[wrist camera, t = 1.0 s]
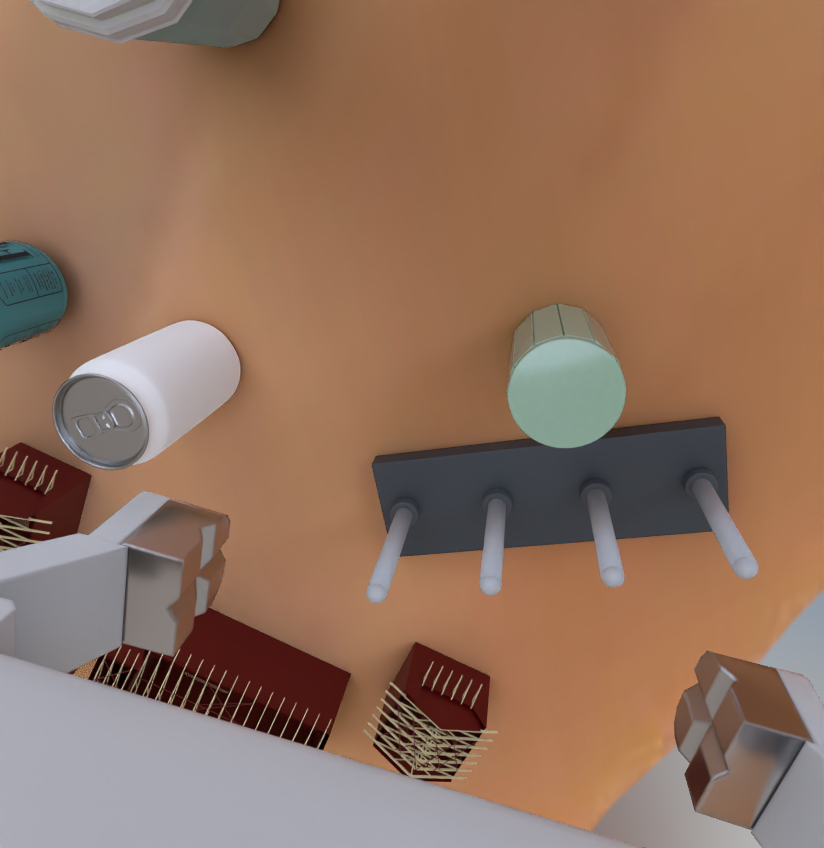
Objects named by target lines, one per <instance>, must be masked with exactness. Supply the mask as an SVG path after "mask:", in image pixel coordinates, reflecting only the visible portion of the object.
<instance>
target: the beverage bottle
mask: <svg viewBox="0 0 824 848" xmlns="http://www.w3.org/2000/svg"><path fill="white" fill-rule="evenodd" d="M14 241H16V240H14ZM19 242H20V241H19ZM67 301H68V294H67V287H66V283H65V280H64V278H63V276H62V273H61V272H60V270H59V268H58V267H57V265H56V264H55V263H54V262H53V260H52V259H51V258H50V257H49V256H48V255H46V254H45V253H44V252H43V251H41V250H39V249H38V248H36V247H34V246H31V245H28V244H26V243H25V244H23V242H22V243H18V242H13V241H12V242H11V241H10V242H2V243H0V348H2V347H3V348H4V346H5V347H6V348H7V346H10V344H13V343H16V342H18V341H22V342H24V341H27V339H26V338H29V337H30V338H29V339H30V340H31V337H32V336H35V335H38V334H41V333H44V332H45V331H46V334H47V331H49V329H51V328H52V327H54V326H55V325H56V324H58V322H59V321H60V319H61V318H62V317H63V315H64V313H65V310H66V307H67ZM54 328H55V327H54ZM54 328H53V329H54ZM49 332H50V331H49ZM39 336H40V335H39ZM35 337H36V336H35ZM37 337H38V336H37ZM33 338H34V337H33ZM24 339H26V340H24ZM18 343H19V342H18ZM20 343H21V342H20ZM20 343H19V344H20ZM13 345H14V344H13ZM1 350H2V349H0V351H1Z"/></svg>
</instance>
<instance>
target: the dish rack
mask: <svg viewBox="0 0 824 848" xmlns="http://www.w3.org/2000/svg"><path fill="white" fill-rule="evenodd" d="M372 468H373V473H374V477H375V482H376V486H377V490H378V495H379V499H380V503H381V508H382V512H383V517H384V521H385V525H386V530H387V534H388V535H387V537H386V540H385V542H384V545H383V548H382V550H381V553H380V556H379V558H378V561H377V564H376V566H375V569H374V571H373V574H372V577H371V579H370V582H369V585H368V587H367V591H366V594H367V597H368V599H369V600H370V601H371V602H373V603H380V602H382V601H384V600H385V598H386V596H387V594H388V590H389V587H390V584H391V581H392V578H393V575H394V572H395V569H396V566H397V563H398V560H399V557H401V556H413V555H426V554H438V553H450V552H463V551H475V550H483V555H482V564H481V573H480V582H479V586H480V589H481V591H482V592H483V593H484V594H486V595H489V596H493V595H495V594H497V593H498V592H499V591H500V589H501V581H502V565H503V549H504V548H512V547H525V546H537V545H549V544H562V543H574V542H587V541H595V547H596V552H597V558H598V563H599V569H600V574H601V579H602V581H603V583H604V584H605V585H607V586H608V587H612V588H615V587H618V586H620V585H621V584H622V583H623V581H624V577H625V576H624V571H623V567H622V562H621V558H620V554H619V550H618V546H617V542H616V539H624V538H636V537H648V536H661V535H673V534H686V533H698V532H710V531H713V532H714V534H715V536H716V538H717V540H718V542H719V544H720V546H721V548H722V550H723V552H724V554H725V556H726V558H727V560H728V562H729V564H730V565H731V567H732V569H733V571H734V573H735V574H736V575H737V576H738V577H740V578H743V579H750V578H752V577H754V576H755V575H756V574H757V572H758V564H757V561H756V560H755V558H754V556H753V555H752V553H751V551H750V549H749V548H748V546H747V544H746V543H745V541H744V539H743V537H742V536H741V534H740V532H739V531H738V529H737V527H736V525H735V524H734V522H733V520H732V519H731V517H730V515H729V508H728V481H727V454H726V426H725V424H724V423H723V421H722V420H721V419H720V417H713V418H705V419H696V420H687V421H678V422H670V423H661V424H652V425H644V426H635V427H626V428H618V429H610V430H609V431H608V432H607V433H606V434H605V435H603V436H602V437H601V438H599V439H597V440H596V441H594V442H592V443H589V444H587V445H584V446H580V447H575V448H556V447H551V446H547V445H544V444H541V443H539V442H537V441H535V440H534V439H532V438H531V439H522V440H513V441H505V442H496V443H487V444H479V445H470V446H461V447H452V448H444V449H435V450H426V451H418V452H409V453H400V454H392V455H383V456H376V457H375V459H374V461H373V463H372Z"/></svg>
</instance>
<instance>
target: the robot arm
mask: <svg viewBox="0 0 824 848" xmlns="http://www.w3.org/2000/svg"><path fill="white" fill-rule="evenodd" d="M229 528H230V520H229V517H228V515H225V514H222V513H219V512H215V511H212V510H209V509H205V508H202V507H199V506H195V505H192V504H189V503H186V502H182V501H179V500H176V499H172V498H169V497H166V496H162V495H158V494H155V493H151V492H140V493H139V494H138V495H136V496H135V497H134V498H133V499H131V500H130V501H129V502H128V503H127V504H125V505H124V506H123V507H122V508H121V509H119V510H118V511H117V512H116V513H114V514H113V515H112V516H111V517H110V518H108V519H107V520H106V521H105V522H103V523H102V524H101V525H100V526H99V527H97V528H96V529H95V530H94V531H92V532H91V533H90V534H89V535H85V534H81V533H77V534H73V535H68V536H64V537H60V538H56V539H51V540H47V541H43V542H39V543H34V544H30V545H26V546H22V547H17V548H13V549H9V550H4V551H0V848H645V847H641V846H638V845H635V844H631V843H628V842H624V841H621V840H618V839H615V838H611V837H608V836H604V835H601V834H598V833H595V832H592V831H588V830H585V829H582V828H578V827H575V826H572V825H568V824H565V823H562V822H558V821H555V820H552V819H548V818H545V817H542V816H538V815H535V814H532V813H528V812H525V811H522V810H519V809H515V808H512V807H509V806H505V805H502V804H499V803H495V802H492V801H489V800H485V799H482V798H479V797H476V796H472V795H469V794H466V793H462V792H459V791H456V790H452V789H449V788H446V787H442V786H439V785H436V784H432V783H429V782H426V781H423V780H419V779H416V778H413V777H409V776H406V775H403V774H399V773H396V772H393V771H389V770H386V769H383V768H379V767H376V766H373V765H370V764H366V763H363V762H360V761H356V760H353V759H350V758H346V757H343V756H340V755H336V754H333V753H330V752H327V751H323V750H320V749H317V748H313V747H310V746H307V745H303V744H300V743H297V742H293V741H290V740H287V739H283V738H280V737H277V736H274V735H270V734H267V733H264V732H260V731H257V730H254V729H250V728H247V727H244V726H240V725H237V724H234V723H231V722H227V721H224V720H221V719H217V718H214V717H211V716H207V715H204V714H201V713H197V712H194V711H191V710H187V709H184V708H181V707H178V706H174V705H171V704H168V703H164V702H161V701H158V700H154V699H151V698H148V697H144V696H141V695H138V694H134V693H131V692H128V691H125V690H121V689H118V688H115V687H111V686H108V685H105V684H101V683H98V682H95V681H91V680H88V679H85V678H82V677H78V676H75V675H72V674H68V673H69V672H71V671H73V670H75V669H77V668H79V667H81V666H83V665H85V664H87V663H89V662H91V661H93V660H95V659H97V658H98V657H100V656H102V655H104V654H106V653H108V652H110V651H112V650H114V649H116V648H118V647H120V646H121V645H122V643H123V644H127V645H131V646H135V647H138V648H142V649H146V650H150V651H153V652H157V653H161V654H165V655H168V656H172V657H173V656H174V655H175V653H176V652H177V651H178V649H179V648H180V647H181V645H182V644H183V643H184V641H185V640H186V638H187V637H188V636H189V634H190V633H191V632H192V630H193V625H194V617H195V616H198V615H201V614H203V613H205V612H206V611H207V609H208V608H209V607H210V605H211V604H212V602H213V600H214V598H215V596H216V594H217V592H218V589H219V587H220V584H221V581H222V577H223V573H224V567H225V561H226V560H225V558H224V556H223V554H222V552H221V550H220V548H221V547H222V546H223V544H224V543H225V542H226V540H227V539H228V538H229ZM694 670H695V673H696V676H697V679H698V682H699V683H697V684H695V685H694V686H692V687H690V688H688V689H686V690H684V692H683V694H682V696H681V699H680V701H679V703H678V706H677V710H676V716H675V722H674V730H675V739H676V744H677V748H678V751H679V752H680V753H681V754H682V755H683V756H684V757H685V759H686V760H687V761H688V762H689V763H690V764H689V767H688V768H687V770H686V772H685V777H686V781H687V785H688V788H689V791H690V795H691V799H692V802H693V806H694V810H695V812H698V813H701V814H704V815H707V816H710V817H713V818H716V819H719V820H722V821H725V822H728V823H731V824H734V825H737V826H741V827H744V828H747V829H750V830H752V831H751V833H752V835H753V836H754V837H755V839H756V840H757V841H758V843H759V844H760V845H761V847H762V848H824V704H823V703H822V701H821V699H820V697H819V696H818V694H817V693H816V691H815V689H814V687H813V685H812V684H811V682H810V680H808V679H807V678H806V677H804V676H803V675H802V674H798V673H794V672H789V671H786V670H782V669H777V668H773V667H768V666H764V665H760V664H756V663H752V662H748V661H745V660H741V659H737V658H733V657H729V656H725V655H722V654H718V653H714V652H710V651H707V652H706V653H705V654H704V655H703V656H702V657H701V658H700V660H699V662H698V663H697V665H696V667H695V669H694Z"/></svg>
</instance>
